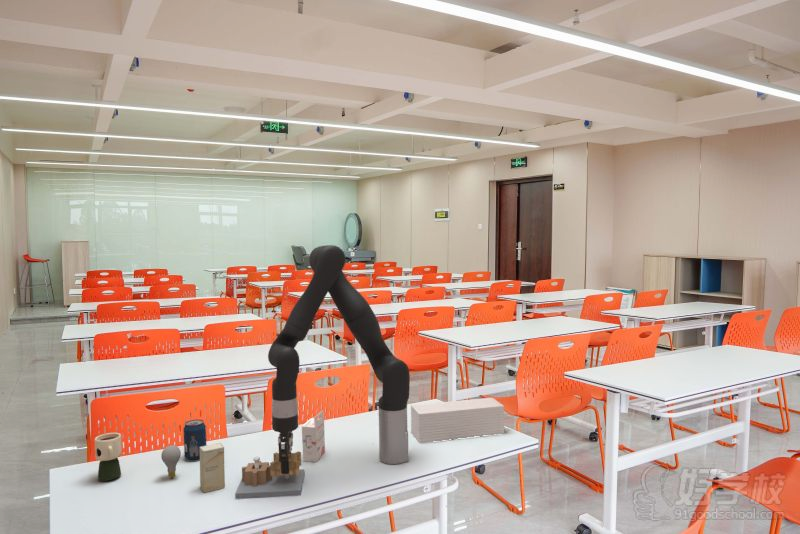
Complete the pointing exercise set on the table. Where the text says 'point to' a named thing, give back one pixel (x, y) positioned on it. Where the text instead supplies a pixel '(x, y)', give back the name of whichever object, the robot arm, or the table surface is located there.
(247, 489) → the gear board
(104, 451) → the character mug
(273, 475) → the oak gear
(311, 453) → the ink cartridge box
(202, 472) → the skincare box
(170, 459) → the light bulb
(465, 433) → the stack of papers
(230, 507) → the table surface
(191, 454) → the soda can
